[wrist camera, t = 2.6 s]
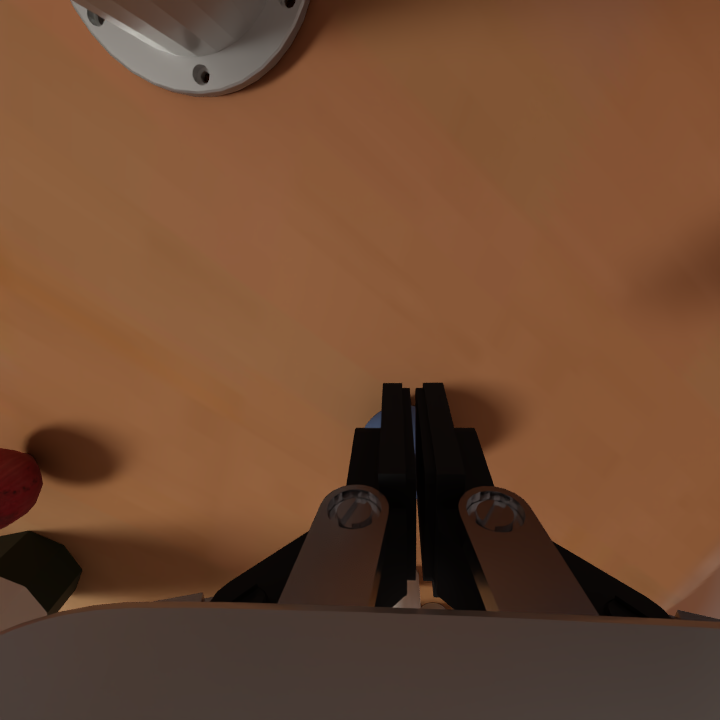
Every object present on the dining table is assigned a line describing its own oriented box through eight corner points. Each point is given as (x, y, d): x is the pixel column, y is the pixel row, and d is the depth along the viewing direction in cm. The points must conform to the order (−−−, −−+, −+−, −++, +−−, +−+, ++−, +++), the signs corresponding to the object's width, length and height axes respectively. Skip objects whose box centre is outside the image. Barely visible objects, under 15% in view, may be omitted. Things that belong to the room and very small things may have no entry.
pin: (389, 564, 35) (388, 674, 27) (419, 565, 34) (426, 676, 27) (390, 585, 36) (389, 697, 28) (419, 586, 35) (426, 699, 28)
